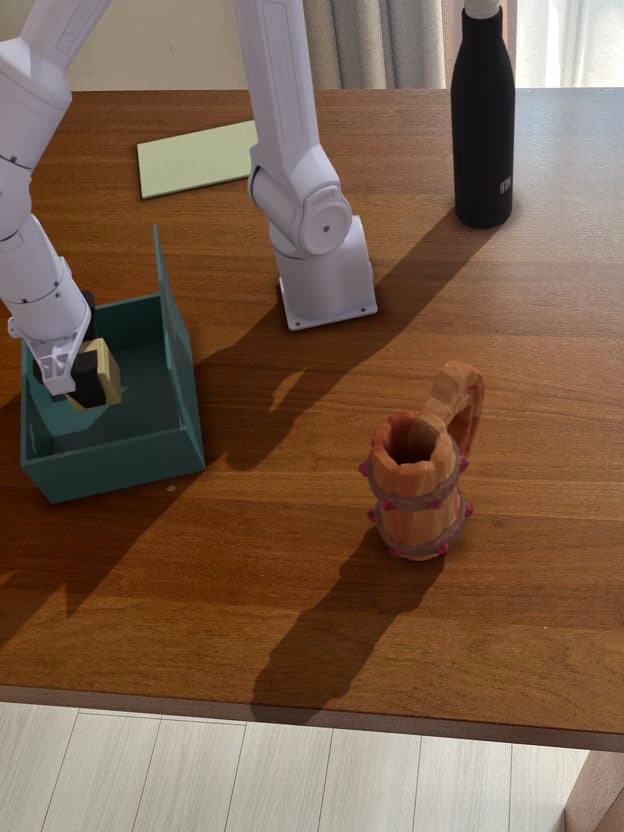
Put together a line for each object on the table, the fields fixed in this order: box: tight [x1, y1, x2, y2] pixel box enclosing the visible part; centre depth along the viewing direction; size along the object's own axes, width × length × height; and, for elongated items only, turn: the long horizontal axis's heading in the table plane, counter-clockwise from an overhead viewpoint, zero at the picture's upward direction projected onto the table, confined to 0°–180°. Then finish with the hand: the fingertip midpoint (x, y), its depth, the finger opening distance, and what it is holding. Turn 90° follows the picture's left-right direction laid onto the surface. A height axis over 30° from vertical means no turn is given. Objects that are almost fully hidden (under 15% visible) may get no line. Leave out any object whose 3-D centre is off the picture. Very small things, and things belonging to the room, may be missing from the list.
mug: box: [357, 359, 486, 562], centre depth 74 cm, size 15×8×15 cm, turn 148°
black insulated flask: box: [449, 0, 516, 230], centre depth 86 cm, size 6×6×30 cm
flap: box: [152, 224, 185, 425], centre depth 80 cm, size 7×18×1 cm
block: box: [64, 338, 122, 412], centre depth 83 cm, size 4×4×4 cm
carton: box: [20, 291, 206, 505], centre depth 86 cm, size 15×18×6 cm
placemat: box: [137, 119, 258, 200], centre depth 108 cm, size 16×10×1 cm, turn 102°
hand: (94, 383), depth 85 cm, fingers closed on block, 4 cm apart
